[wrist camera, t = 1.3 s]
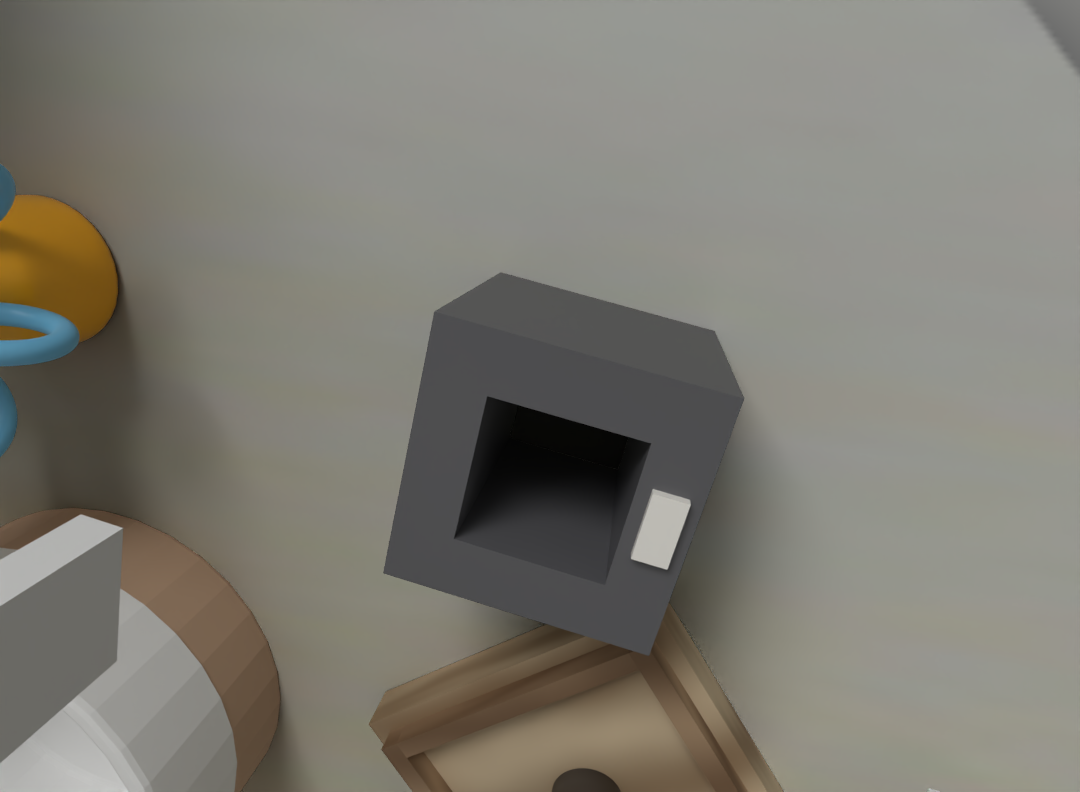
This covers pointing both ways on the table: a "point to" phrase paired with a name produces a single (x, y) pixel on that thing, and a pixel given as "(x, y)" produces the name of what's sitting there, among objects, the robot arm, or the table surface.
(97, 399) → the table surface
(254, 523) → the table surface
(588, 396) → the hollow dark grey cube
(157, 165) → the table surface
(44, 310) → the orange tube with rings
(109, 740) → the bowl
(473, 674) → the plate
